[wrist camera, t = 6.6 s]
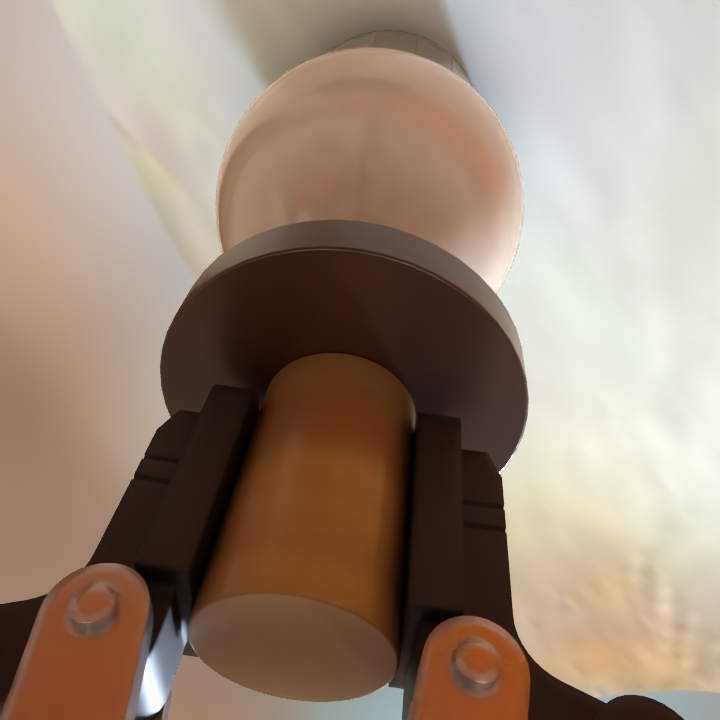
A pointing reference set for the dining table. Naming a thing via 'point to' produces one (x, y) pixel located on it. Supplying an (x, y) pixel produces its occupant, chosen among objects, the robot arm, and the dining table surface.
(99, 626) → the robot arm
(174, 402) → the knob on round base
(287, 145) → the ball
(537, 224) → the dining table surface
